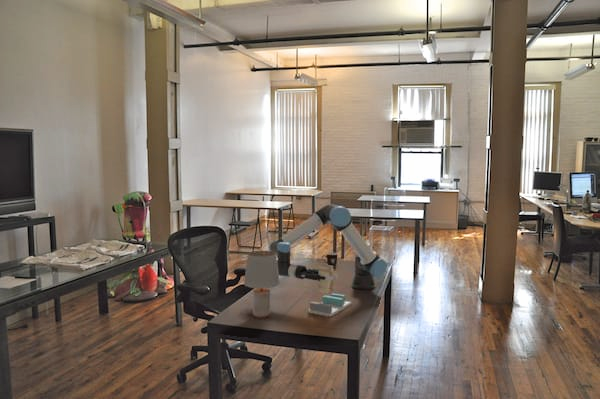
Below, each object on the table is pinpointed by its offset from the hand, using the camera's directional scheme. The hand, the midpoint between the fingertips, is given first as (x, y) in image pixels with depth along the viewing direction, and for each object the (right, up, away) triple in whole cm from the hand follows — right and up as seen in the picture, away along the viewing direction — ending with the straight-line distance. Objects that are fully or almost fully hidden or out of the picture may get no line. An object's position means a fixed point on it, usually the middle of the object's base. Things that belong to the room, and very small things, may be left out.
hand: (334, 277), depth 264 cm
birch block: (-4, -8, +3) cm, 10 cm away
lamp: (-39, -20, -4) cm, 44 cm away
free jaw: (+2, -17, +14) cm, 22 cm away
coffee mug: (+5, -9, +109) cm, 109 cm away
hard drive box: (+29, -10, +98) cm, 103 cm away
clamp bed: (-2, -19, +9) cm, 21 cm away
